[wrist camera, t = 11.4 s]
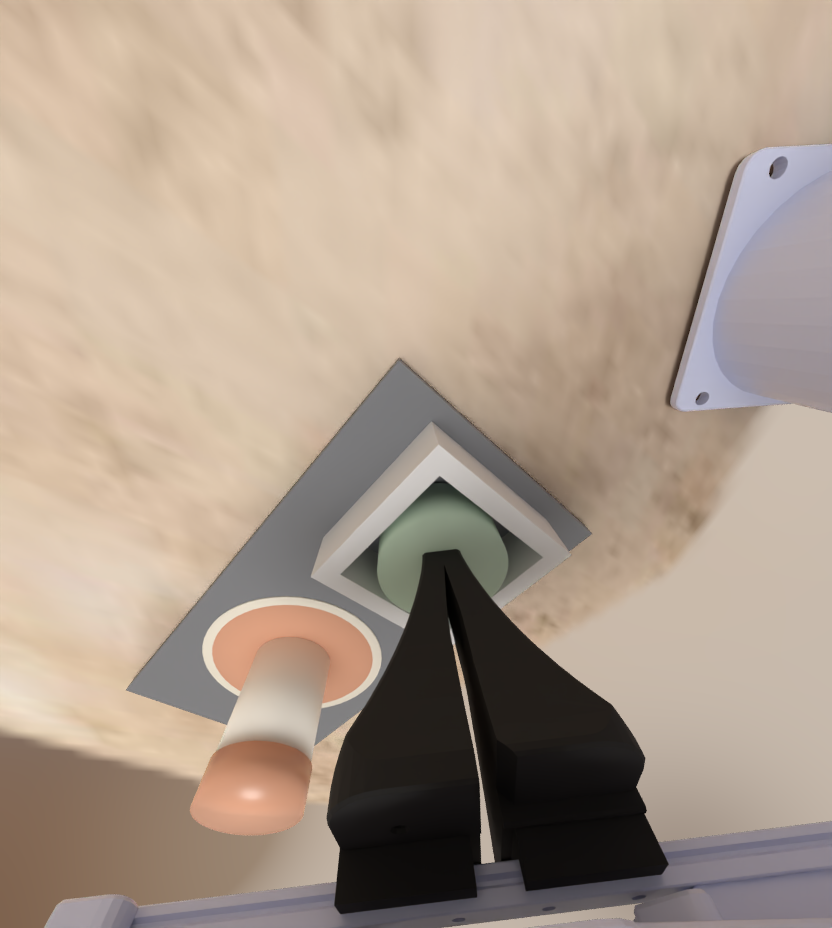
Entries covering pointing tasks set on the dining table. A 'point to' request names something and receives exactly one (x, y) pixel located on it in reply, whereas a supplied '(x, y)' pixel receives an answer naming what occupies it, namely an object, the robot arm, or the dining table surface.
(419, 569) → the button
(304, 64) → the dining table surface
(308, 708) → the white orange capped cylinder
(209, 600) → the grey rectangular tray
